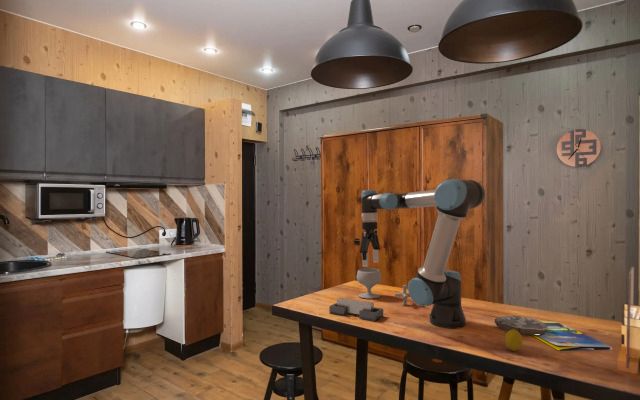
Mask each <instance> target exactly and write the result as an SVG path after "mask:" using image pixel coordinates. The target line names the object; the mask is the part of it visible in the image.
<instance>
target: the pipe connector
mask: <svg viewBox="0 0 640 400" xmlns="http://www.w3.org/2000/svg"><path fill="white" fill-rule="evenodd" d="M394 297H395V298H399V297H400V298H402V305H403V306H407V305H408V303H407V301H408V298H411V297H410V295H409V292H407V285H406V284H403V285H402V291H401V293H400V292H398V293H397V292H395V293H394Z"/></svg>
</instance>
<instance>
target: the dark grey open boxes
mask: <svg viewBox="0 0 640 400" xmlns="http://www.w3.org/2000/svg"><path fill="white" fill-rule="evenodd" d="M329 314H331V315H334V316H341V317H342V316H343V317H345V316H347V315H349V314H350V313H347V312H346V308H345V307H339V306H337V302H335V303H333V304H331V305H329ZM358 315H359V316H358V317H359V318H358V319H360V320H366V321H370V322H377V321H379V320H380V319H382V318H383V317H384V308H382V307H376V306H374V312H370V311H364V310H360V311H359V314H358Z"/></svg>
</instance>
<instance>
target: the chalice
mask: <svg viewBox="0 0 640 400" xmlns="http://www.w3.org/2000/svg"><path fill="white" fill-rule="evenodd" d="M356 280H357V282H358V283H359V284H361V285H363V286H364V287H365V288H366V289H367V291H366V292H363V293H360V294H358V297H359V298H362V299H367V300H368V299H371V300H373V299H378V298H380V297H381V296H380V294H379V293H375V292H372V288H374V286H377V285H378V284H380V283H381V281H382V273H381V270H380V269H378V268H374V267H373V268H372V267H371V268H370V267H363V268H360V269H358V270H357V272H356Z"/></svg>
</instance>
